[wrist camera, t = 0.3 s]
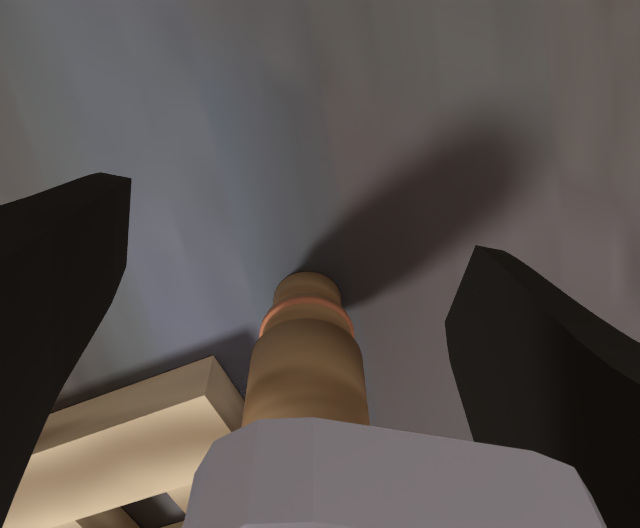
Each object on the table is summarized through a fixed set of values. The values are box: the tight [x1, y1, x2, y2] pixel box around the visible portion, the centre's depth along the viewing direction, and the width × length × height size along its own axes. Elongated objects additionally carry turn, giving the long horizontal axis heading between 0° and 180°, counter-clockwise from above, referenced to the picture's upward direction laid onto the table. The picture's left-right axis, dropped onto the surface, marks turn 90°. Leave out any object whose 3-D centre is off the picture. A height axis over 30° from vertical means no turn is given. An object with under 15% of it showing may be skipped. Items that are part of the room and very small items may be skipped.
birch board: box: [2, 355, 245, 528], centre depth 29 cm, size 14×14×2 cm
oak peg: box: [241, 271, 370, 428], centre depth 21 cm, size 4×4×9 cm
